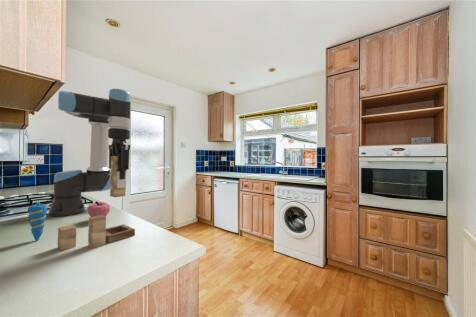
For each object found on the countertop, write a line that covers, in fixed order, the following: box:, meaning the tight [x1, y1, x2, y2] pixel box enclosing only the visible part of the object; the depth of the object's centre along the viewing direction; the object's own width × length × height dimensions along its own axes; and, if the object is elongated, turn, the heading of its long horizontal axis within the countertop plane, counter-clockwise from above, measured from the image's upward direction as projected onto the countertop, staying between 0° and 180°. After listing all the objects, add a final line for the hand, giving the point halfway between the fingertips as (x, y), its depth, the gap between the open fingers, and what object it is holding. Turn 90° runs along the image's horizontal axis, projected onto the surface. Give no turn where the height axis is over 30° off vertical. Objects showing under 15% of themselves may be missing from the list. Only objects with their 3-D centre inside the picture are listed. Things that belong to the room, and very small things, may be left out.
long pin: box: [109, 156, 127, 198], centre depth 80 cm, size 4×4×16 cm
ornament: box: [27, 200, 48, 242], centre depth 74 cm, size 5×5×15 cm
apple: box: [87, 201, 110, 218], centre depth 98 cm, size 10×9×10 cm
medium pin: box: [87, 215, 107, 250], centre depth 72 cm, size 4×4×10 cm
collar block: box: [105, 223, 136, 244], centre depth 80 cm, size 10×10×2 cm
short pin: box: [57, 224, 77, 252], centre depth 69 cm, size 4×4×7 cm
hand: (118, 186), depth 80 cm, fingers closed on long pin, 4 cm apart
